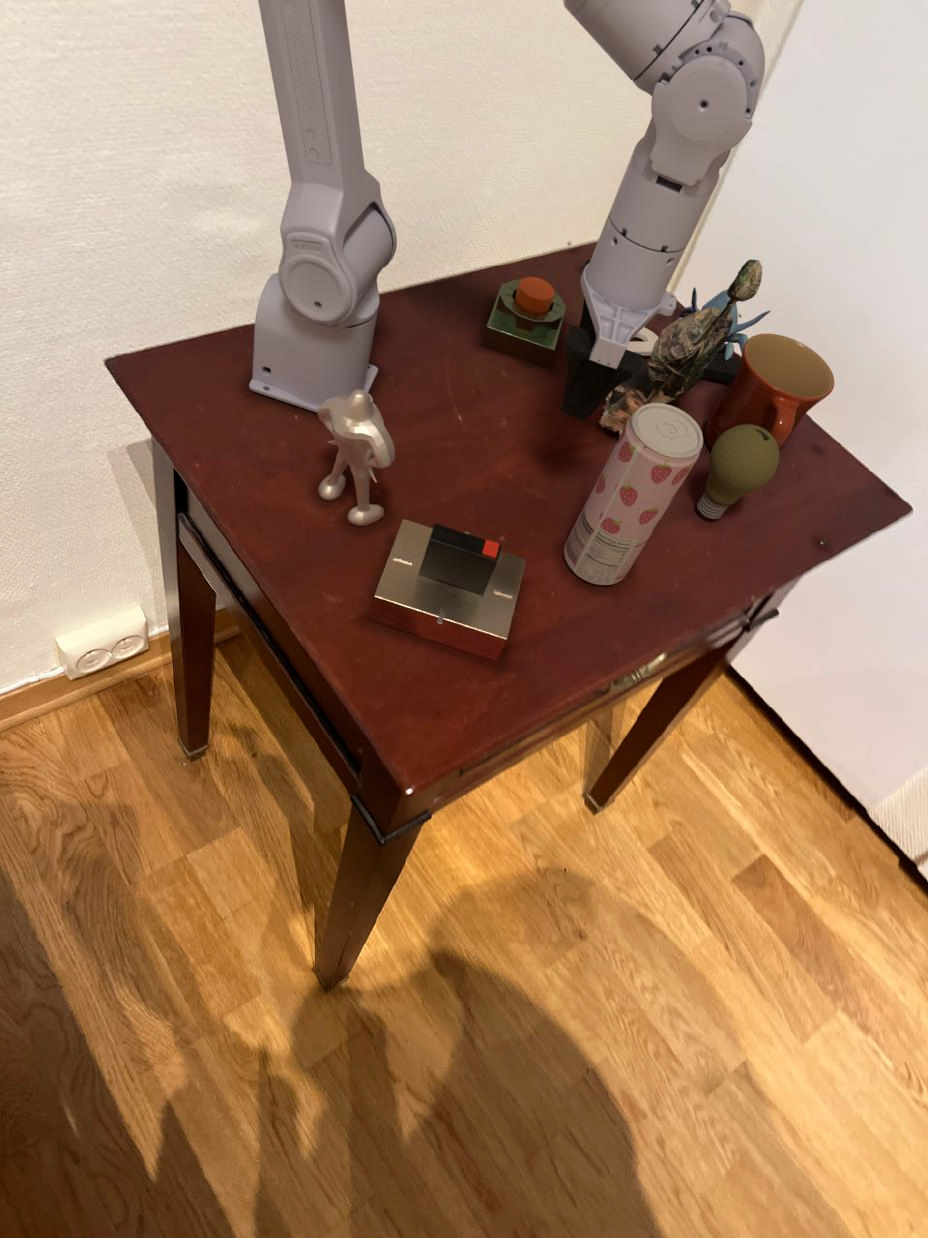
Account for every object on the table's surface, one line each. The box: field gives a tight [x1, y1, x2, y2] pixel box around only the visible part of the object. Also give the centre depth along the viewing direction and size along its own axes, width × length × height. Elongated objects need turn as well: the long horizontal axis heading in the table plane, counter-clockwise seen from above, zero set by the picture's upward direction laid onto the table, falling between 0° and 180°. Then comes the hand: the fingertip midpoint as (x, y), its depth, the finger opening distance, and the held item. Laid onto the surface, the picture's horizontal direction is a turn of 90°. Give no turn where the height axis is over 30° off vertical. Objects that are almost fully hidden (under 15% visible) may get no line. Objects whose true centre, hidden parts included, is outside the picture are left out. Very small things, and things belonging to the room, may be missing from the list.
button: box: [515, 276, 556, 314], centre depth 85 cm, size 4×4×2 cm
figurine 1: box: [317, 390, 396, 527], centre depth 65 cm, size 7×4×12 cm, turn 49°
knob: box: [419, 523, 502, 594], centre depth 63 cm, size 5×2×4 cm, turn 77°
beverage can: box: [563, 403, 704, 586], centre depth 67 cm, size 6×6×15 cm
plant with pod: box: [598, 258, 763, 436], centre depth 77 cm, size 8×11×20 cm
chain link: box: [626, 326, 660, 357], centre depth 91 cm, size 8×1×5 cm
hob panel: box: [368, 518, 527, 662], centre depth 66 cm, size 10×9×3 cm
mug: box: [704, 333, 835, 453], centre depth 81 cm, size 12×9×10 cm
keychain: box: [622, 359, 675, 405], centre depth 88 cm, size 5×1×10 cm
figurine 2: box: [676, 286, 772, 385], centre depth 92 cm, size 10×12×8 cm
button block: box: [480, 279, 567, 368], centre depth 87 cm, size 7×8×4 cm
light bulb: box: [696, 424, 780, 520], centre depth 76 cm, size 6×6×10 cm
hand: (580, 384), depth 69 cm, fingers open, 7 cm apart
